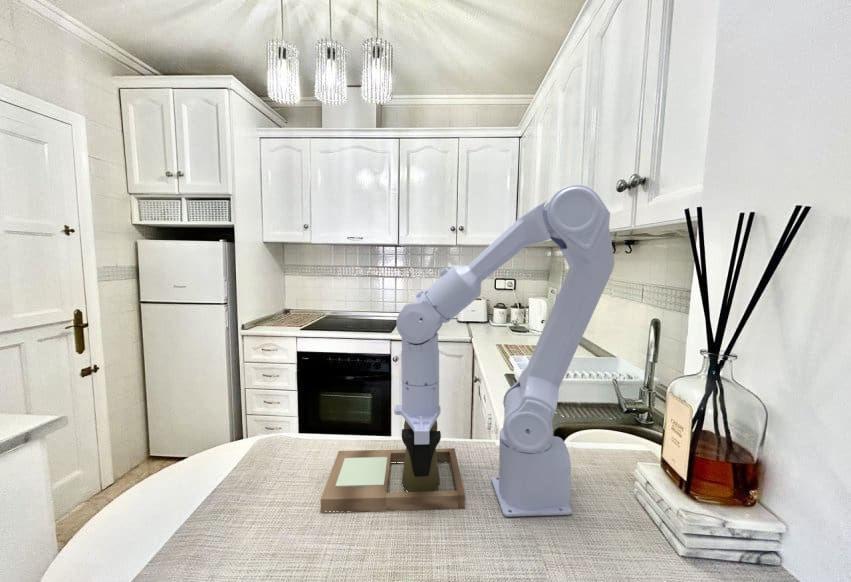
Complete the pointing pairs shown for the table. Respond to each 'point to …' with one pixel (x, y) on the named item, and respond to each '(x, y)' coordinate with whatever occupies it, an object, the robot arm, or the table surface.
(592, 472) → the table surface
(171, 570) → the table surface
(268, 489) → the table surface
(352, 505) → the well board
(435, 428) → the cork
